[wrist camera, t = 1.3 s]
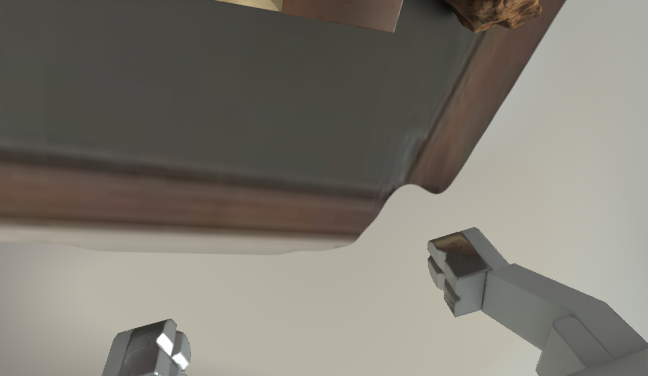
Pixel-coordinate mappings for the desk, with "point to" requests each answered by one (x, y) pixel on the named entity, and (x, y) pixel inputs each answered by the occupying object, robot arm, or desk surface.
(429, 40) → the desk surface
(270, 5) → the game board
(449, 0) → the decorative rock
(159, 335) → the robot arm
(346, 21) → the tall rectangular block
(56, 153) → the desk surface
